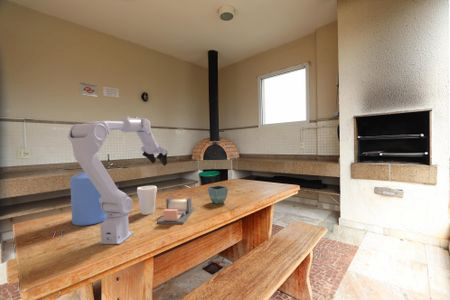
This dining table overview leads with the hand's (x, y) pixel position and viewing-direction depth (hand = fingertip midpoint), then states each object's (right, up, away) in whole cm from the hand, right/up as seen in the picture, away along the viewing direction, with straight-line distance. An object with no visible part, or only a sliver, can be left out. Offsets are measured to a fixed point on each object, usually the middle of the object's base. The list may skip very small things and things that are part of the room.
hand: (159, 163), depth 104 cm
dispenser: (+10, -25, -3) cm, 27 cm away
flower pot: (+29, -25, +18) cm, 42 cm away
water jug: (-30, -27, -7) cm, 40 cm away
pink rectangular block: (+9, -24, -8) cm, 27 cm away
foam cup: (-7, -26, +2) cm, 27 cm away
